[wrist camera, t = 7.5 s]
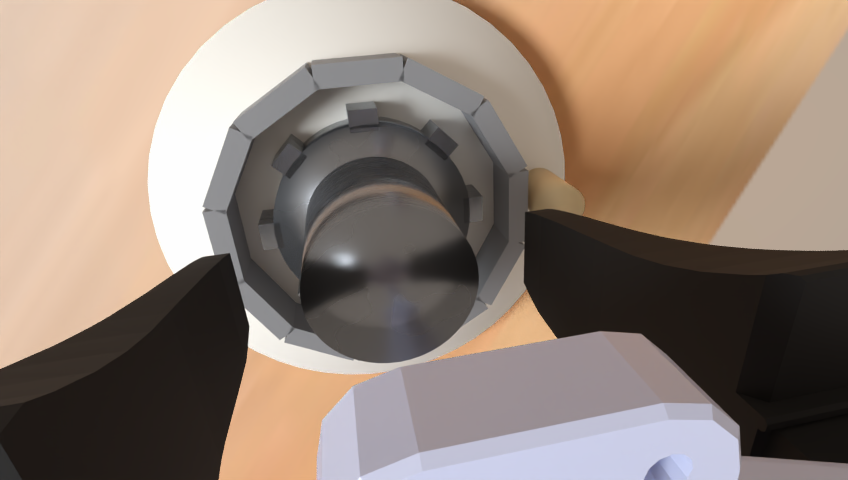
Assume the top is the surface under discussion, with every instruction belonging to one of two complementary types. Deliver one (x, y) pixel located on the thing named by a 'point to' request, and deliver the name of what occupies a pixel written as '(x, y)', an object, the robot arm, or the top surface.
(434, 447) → the robot arm
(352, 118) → the planet gear
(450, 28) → the plate
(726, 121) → the top surface
